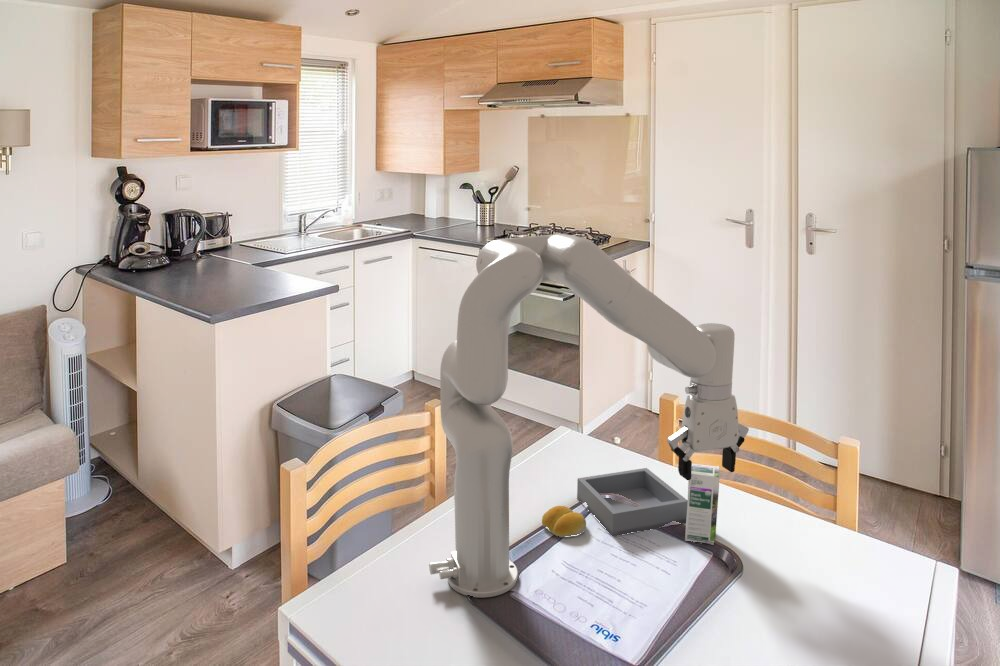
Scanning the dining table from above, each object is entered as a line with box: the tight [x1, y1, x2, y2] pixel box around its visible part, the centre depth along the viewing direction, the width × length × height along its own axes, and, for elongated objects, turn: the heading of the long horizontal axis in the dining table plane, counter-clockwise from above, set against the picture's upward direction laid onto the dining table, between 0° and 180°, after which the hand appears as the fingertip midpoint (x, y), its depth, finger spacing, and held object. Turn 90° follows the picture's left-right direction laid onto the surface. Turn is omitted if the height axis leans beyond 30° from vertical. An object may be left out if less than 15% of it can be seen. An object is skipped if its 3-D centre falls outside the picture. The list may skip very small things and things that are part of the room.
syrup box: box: [684, 462, 720, 543], centre depth 139 cm, size 6×6×14 cm
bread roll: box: [541, 505, 587, 538], centre depth 144 cm, size 8×9×4 cm
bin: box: [576, 467, 688, 537], centre depth 151 cm, size 17×17×5 cm
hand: (706, 473), depth 138 cm, fingers open, 9 cm apart
